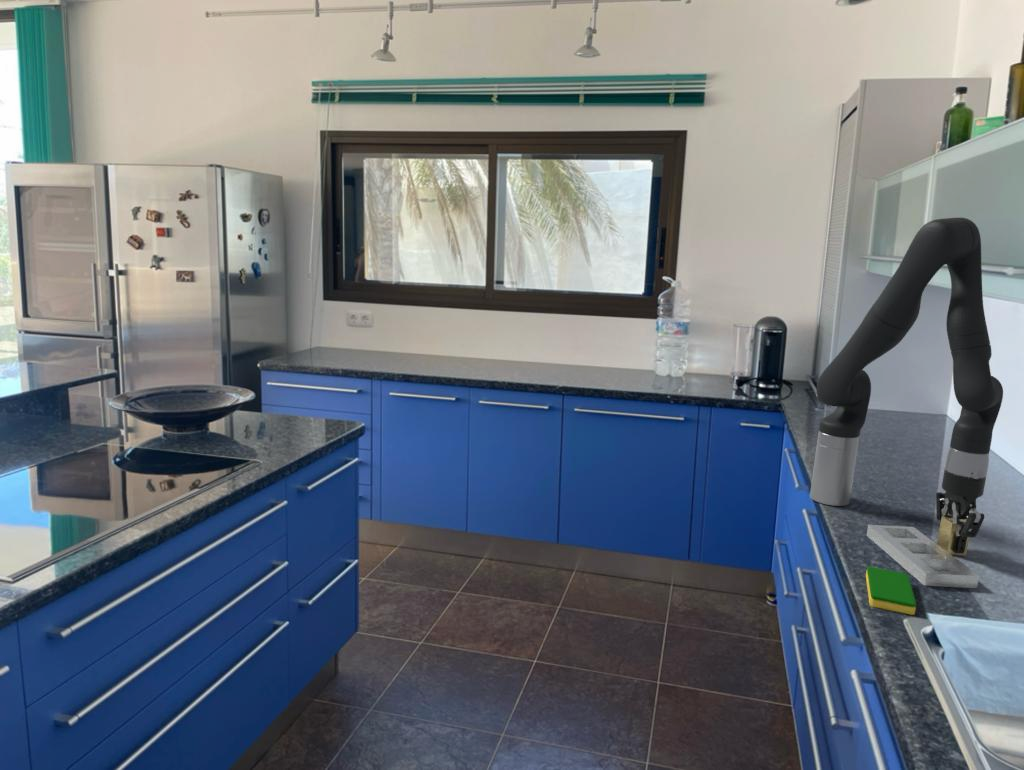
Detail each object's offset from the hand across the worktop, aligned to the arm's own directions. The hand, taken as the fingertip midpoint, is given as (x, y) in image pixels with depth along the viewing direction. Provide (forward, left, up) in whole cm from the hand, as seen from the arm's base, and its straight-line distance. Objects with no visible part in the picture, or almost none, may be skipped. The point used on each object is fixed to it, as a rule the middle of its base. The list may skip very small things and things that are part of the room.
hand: (951, 547), depth 160 cm
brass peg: (0, 0, -1) cm, 1 cm away
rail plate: (+5, -10, -1) cm, 11 cm away
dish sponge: (+22, -24, -1) cm, 32 cm away
